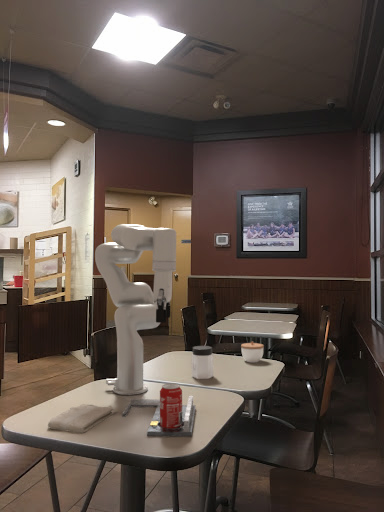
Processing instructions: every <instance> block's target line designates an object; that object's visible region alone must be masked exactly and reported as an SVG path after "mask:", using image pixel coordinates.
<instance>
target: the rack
mask: <svg viewBox="0 0 384 512" xmlns="http://www.w3.org/2000/svg"><path fill="white" fill-rule="evenodd" d="M195 414H196V405H195V404H194V396H193V395H189V396H188V400H187V404H182V426H181V427H180V428H176V429H165V428H162V427H161V426H160V405H158V407H156V409H155V412H154V414H153V417H152V419H151V422H150V423H149V426H148V428H147V431H146V436H147V437H188V438H189V437H192V435H193V429H194V421H195Z"/></svg>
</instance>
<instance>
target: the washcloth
mask: <svg viewBox="0 0 384 512" xmlns="http://www.w3.org/2000/svg"><path fill="white" fill-rule="evenodd" d="M113 410H114V408H113V407H111V406H98V405H94V404H86V403H85V404H84V403H82V404H79V405H78V406H74V407H73V406H72V407H70V408H69V409H68V410H66V411H64V412H62V413H61V412H60V413H59V414H58V415H57V416H55V417H52V418H51V419H50V420H49V421H48V424H47V427H48V428H49V429H51V430H58V431H65V432H66V431H67V432H69V433H70V432H71V433H78V434H79V433H80V434H83V433H85V432H86V431H88V430H90V429H92V428H93V427H95V426H96V425H98V424H100V423H101V422H102V421H104V420H105V419H107V418H109V417H111V416H112V415H114V412H113Z"/></svg>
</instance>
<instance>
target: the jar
mask: <svg viewBox="0 0 384 512" xmlns="http://www.w3.org/2000/svg"><path fill="white" fill-rule="evenodd" d="M191 377H192V378H194V379H197V380H209V379H211V378H212V377H214V353H213V347H212V346H209V345H197V346H192V353H191Z"/></svg>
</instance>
